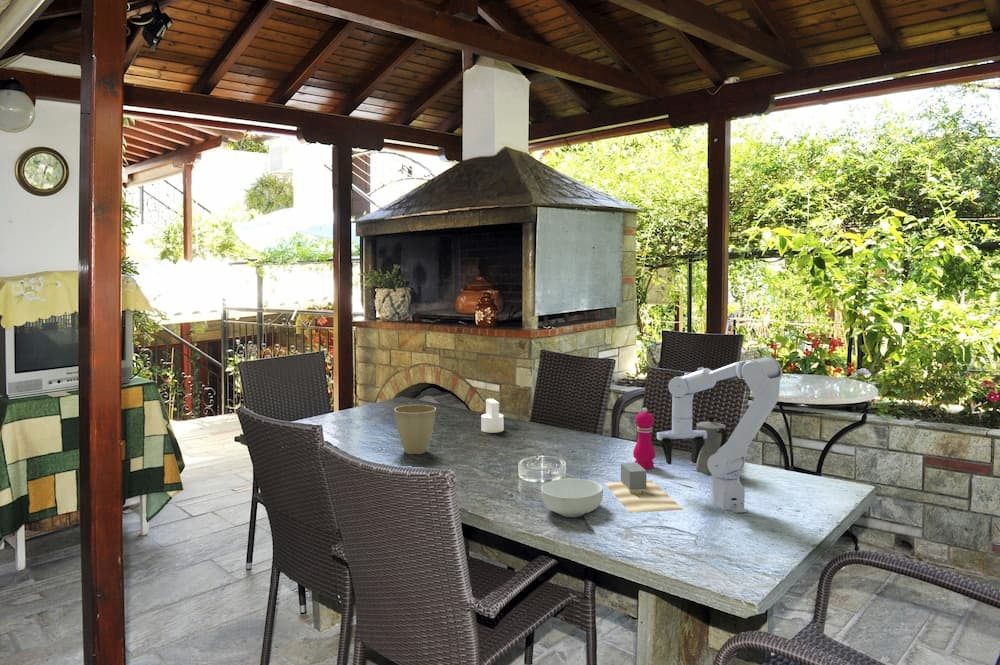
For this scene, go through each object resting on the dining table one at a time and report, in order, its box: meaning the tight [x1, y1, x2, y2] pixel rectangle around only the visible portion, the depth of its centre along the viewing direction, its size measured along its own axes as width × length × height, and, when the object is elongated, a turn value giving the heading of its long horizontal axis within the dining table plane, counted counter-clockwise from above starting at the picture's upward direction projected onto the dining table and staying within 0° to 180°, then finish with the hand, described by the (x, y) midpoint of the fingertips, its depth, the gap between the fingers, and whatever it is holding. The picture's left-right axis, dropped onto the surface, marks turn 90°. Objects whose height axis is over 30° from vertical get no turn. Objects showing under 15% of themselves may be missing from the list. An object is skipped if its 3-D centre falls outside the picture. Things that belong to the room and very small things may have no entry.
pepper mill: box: [632, 407, 656, 471], centre depth 235 cm, size 7×7×20 cm
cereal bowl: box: [540, 477, 604, 518], centre depth 195 cm, size 17×17×7 cm
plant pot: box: [393, 404, 437, 455], centre depth 256 cm, size 15×15×16 cm
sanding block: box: [620, 462, 648, 492], centre depth 212 cm, size 9×5×6 cm, turn 7°
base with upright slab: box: [480, 398, 505, 434], centre depth 289 cm, size 9×9×12 cm
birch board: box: [604, 480, 684, 513], centre depth 205 cm, size 26×15×1 cm, turn 7°
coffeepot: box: [695, 415, 728, 475], centre depth 230 cm, size 15×9×18 cm, turn 14°
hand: (681, 462), depth 208 cm, fingers open, 7 cm apart
